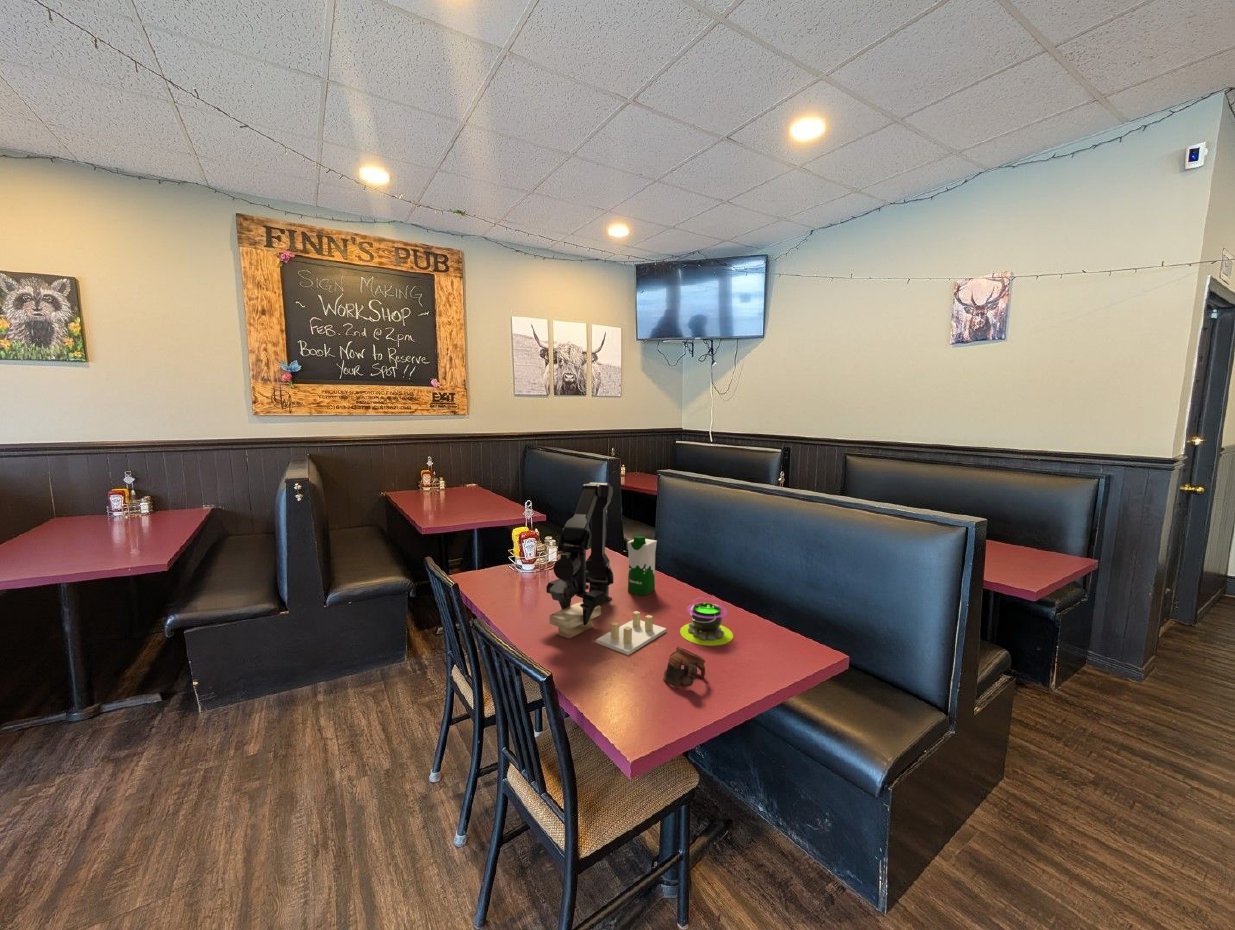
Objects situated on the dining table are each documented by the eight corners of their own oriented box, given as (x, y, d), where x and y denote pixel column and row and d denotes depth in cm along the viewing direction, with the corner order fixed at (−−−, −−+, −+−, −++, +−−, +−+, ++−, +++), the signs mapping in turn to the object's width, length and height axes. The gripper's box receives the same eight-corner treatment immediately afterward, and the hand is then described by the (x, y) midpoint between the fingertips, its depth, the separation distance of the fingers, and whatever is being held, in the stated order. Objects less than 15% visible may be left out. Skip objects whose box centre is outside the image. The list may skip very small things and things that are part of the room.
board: (583, 608, 152) (583, 600, 152) (600, 614, 148) (600, 606, 148) (549, 623, 142) (549, 615, 141) (567, 630, 137) (567, 621, 137)
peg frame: (635, 621, 152) (635, 605, 151) (666, 631, 145) (666, 615, 145) (596, 642, 138) (596, 625, 137) (628, 655, 131) (628, 636, 130)
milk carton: (624, 592, 176) (624, 536, 174) (637, 584, 183) (638, 531, 181) (646, 597, 171) (647, 539, 169) (658, 589, 179) (659, 534, 177)
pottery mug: (655, 674, 123) (668, 641, 125) (689, 689, 124) (701, 656, 126) (671, 688, 111) (685, 652, 113) (708, 704, 112) (721, 668, 114)
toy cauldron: (670, 627, 149) (671, 591, 147) (714, 619, 154) (715, 584, 153) (697, 649, 135) (698, 610, 133) (744, 640, 140) (745, 602, 139)
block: (582, 623, 150) (582, 611, 150) (592, 626, 148) (592, 615, 148) (558, 634, 143) (558, 622, 142) (568, 638, 140) (568, 626, 140)
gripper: (532, 568, 143) (532, 621, 144) (580, 583, 131) (580, 640, 133) (560, 559, 151) (560, 609, 153) (608, 572, 140) (607, 626, 142)
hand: (575, 621), depth 145 cm, fingers closed on board, 7 cm apart
